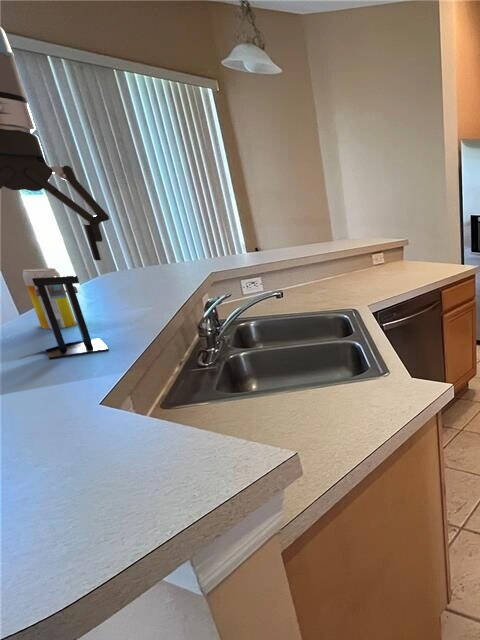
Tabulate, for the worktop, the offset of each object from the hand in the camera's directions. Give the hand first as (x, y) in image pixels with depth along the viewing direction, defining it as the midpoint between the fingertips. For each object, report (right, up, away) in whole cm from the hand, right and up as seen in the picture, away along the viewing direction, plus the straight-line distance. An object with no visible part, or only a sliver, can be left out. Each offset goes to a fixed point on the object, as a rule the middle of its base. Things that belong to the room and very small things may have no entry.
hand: (48, 261), depth 81 cm
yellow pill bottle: (-25, -10, +27) cm, 39 cm away
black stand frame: (-7, -16, +13) cm, 21 cm away
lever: (-3, -5, +5) cm, 8 cm away
